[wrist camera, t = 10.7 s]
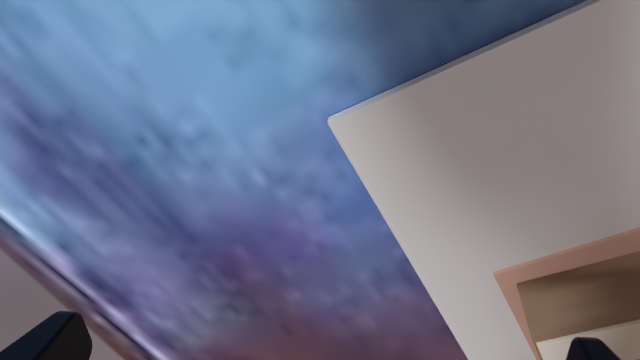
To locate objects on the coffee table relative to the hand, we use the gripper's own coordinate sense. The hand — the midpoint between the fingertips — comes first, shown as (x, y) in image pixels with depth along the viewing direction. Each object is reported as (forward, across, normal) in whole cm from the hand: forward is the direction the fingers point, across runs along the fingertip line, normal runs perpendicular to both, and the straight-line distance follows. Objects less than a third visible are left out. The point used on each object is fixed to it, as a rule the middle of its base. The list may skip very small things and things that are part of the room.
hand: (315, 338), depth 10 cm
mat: (+12, -10, +8) cm, 18 cm away
